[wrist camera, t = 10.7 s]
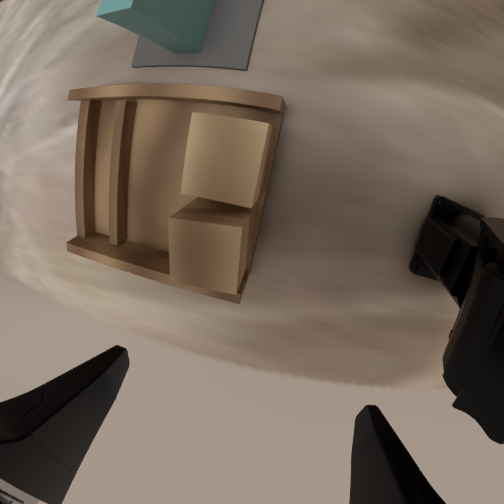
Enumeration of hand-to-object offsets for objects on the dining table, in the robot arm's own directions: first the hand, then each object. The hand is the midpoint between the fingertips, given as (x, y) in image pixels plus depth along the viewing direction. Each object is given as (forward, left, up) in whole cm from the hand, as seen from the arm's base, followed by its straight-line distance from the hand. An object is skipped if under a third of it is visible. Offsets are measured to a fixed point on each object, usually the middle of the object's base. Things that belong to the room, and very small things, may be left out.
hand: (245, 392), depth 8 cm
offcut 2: (+4, -1, -12) cm, 13 cm away
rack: (+9, -4, -13) cm, 16 cm away
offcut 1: (+4, -6, -12) cm, 14 cm away
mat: (+9, -18, -13) cm, 24 cm away
